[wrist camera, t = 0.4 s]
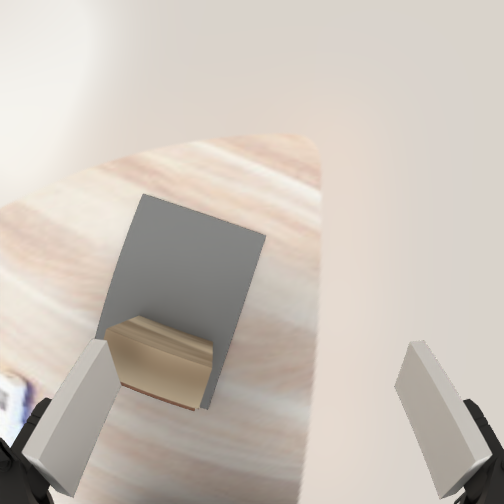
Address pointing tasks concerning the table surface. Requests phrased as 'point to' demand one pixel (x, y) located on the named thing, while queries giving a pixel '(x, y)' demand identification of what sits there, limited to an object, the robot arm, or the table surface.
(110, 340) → the brown wooden block
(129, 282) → the mat
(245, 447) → the table surface
